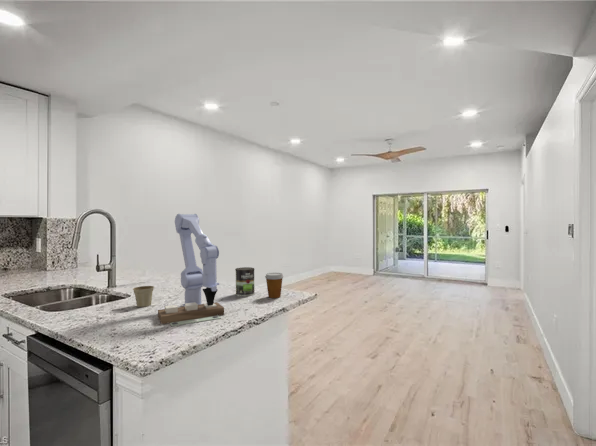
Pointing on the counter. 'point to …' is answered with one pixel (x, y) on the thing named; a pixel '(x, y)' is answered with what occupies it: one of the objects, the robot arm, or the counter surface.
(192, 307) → the button middle
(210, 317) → the pattern card
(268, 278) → the disposable coffee cup
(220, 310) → the brown flat rectangular frame
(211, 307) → the white square block
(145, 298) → the flower pot
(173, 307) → the cream square block
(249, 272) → the coffee can
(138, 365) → the counter surface
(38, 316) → the counter surface
